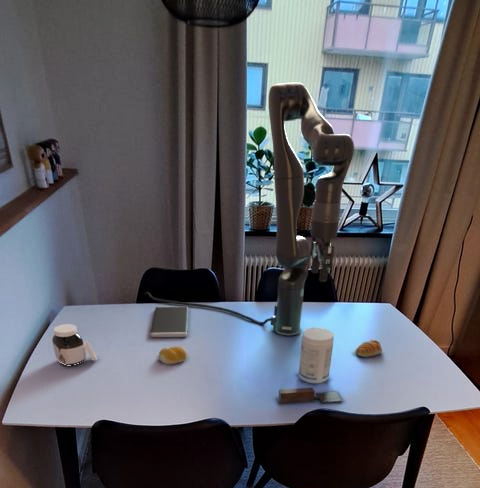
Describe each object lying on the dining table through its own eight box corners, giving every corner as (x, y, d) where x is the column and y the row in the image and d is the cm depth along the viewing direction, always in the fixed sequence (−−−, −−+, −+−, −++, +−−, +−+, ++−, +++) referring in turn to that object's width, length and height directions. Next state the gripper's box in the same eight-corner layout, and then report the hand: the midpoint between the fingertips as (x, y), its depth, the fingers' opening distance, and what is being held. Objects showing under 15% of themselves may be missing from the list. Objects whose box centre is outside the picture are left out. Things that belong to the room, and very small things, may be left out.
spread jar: (53, 360, 156) (45, 327, 149) (83, 350, 163) (77, 317, 156) (73, 373, 150) (65, 338, 143) (103, 361, 156) (98, 328, 150)
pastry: (365, 360, 161) (367, 350, 159) (350, 353, 165) (351, 343, 163) (382, 353, 166) (385, 342, 164) (367, 346, 170) (369, 336, 168)
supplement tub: (319, 368, 156) (325, 325, 147) (334, 381, 148) (340, 337, 140) (292, 372, 153) (296, 329, 144) (306, 386, 146) (311, 342, 137)
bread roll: (190, 360, 158) (190, 349, 156) (166, 366, 154) (165, 355, 152) (179, 351, 164) (178, 340, 162) (155, 357, 160) (154, 346, 157)
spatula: (281, 406, 136) (282, 396, 134) (277, 396, 140) (278, 386, 138) (341, 402, 139) (343, 392, 137) (335, 393, 143) (337, 383, 141)
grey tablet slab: (188, 310, 195) (188, 306, 194) (187, 337, 173) (187, 333, 172) (155, 310, 194) (155, 306, 193) (150, 338, 172) (150, 333, 171)
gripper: (346, 224, 128) (338, 284, 138) (330, 213, 140) (323, 269, 149) (319, 224, 127) (313, 285, 137) (305, 213, 139) (300, 270, 148)
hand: (318, 276), depth 143 cm, fingers open, 8 cm apart
